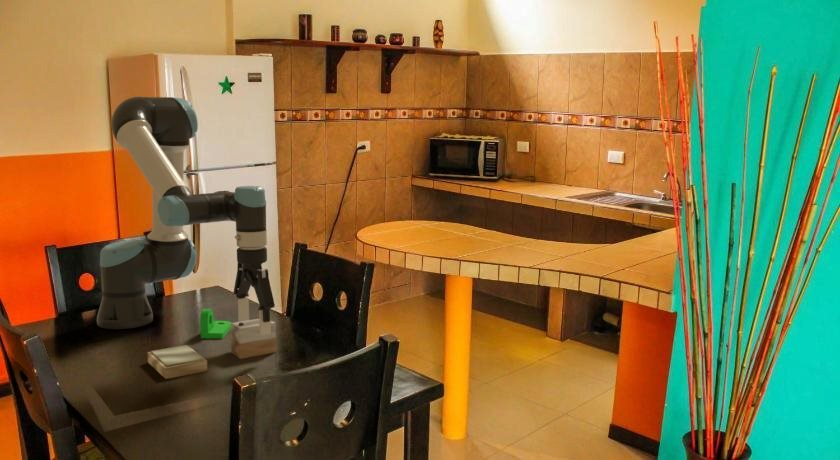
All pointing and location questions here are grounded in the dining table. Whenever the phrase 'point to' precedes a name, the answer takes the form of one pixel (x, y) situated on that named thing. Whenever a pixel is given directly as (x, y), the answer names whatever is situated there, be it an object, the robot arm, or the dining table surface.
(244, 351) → the block
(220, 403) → the dining table surface
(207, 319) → the mechanical part
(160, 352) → the stand
